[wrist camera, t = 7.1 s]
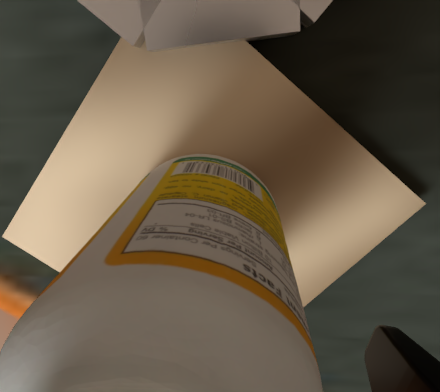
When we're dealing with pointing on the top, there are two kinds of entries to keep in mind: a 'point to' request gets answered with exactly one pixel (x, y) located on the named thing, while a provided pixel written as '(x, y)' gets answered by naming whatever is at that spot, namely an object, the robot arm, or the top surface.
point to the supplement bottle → (172, 296)
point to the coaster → (214, 145)
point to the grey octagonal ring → (203, 20)
